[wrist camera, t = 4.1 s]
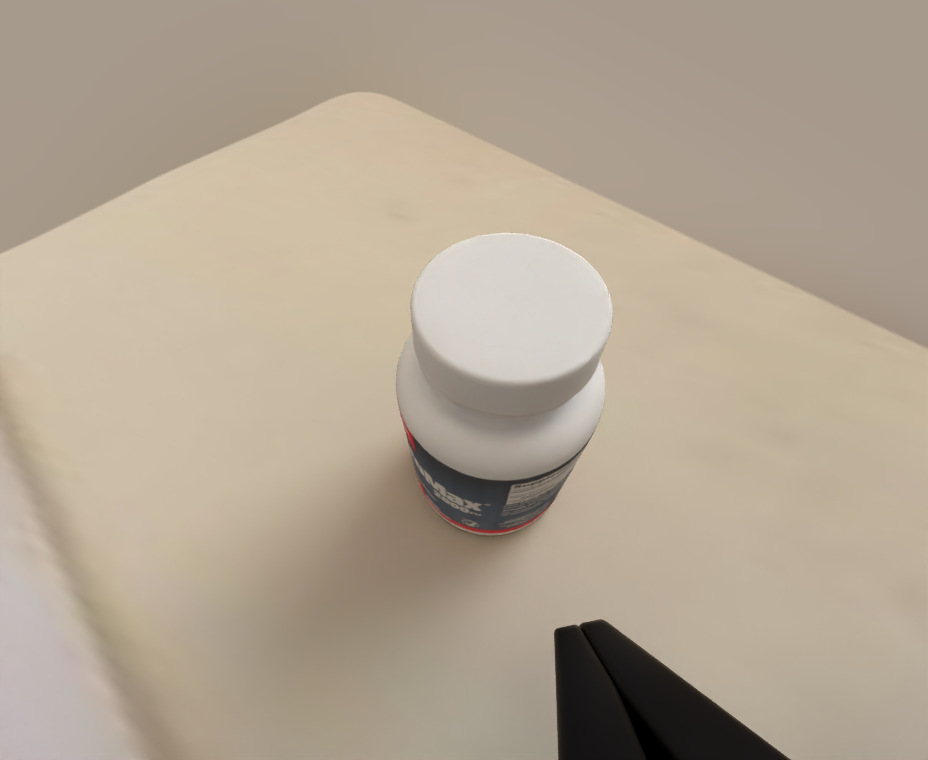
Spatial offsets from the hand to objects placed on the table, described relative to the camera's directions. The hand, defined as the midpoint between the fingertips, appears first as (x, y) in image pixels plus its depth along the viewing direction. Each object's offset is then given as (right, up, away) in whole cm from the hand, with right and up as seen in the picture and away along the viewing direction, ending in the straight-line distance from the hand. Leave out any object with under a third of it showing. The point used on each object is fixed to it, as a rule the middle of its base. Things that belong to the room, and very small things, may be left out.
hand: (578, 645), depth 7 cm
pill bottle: (-1, +1, +9) cm, 9 cm away
